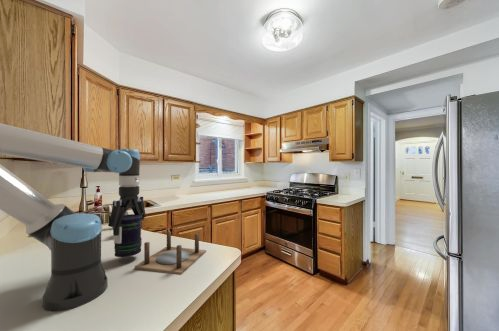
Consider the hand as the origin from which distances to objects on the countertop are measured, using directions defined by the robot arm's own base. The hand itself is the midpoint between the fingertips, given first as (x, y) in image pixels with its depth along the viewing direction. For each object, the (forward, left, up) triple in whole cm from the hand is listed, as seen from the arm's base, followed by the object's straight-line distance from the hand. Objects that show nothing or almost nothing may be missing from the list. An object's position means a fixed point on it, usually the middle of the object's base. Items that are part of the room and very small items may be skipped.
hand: (128, 238), depth 87 cm
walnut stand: (+3, -19, -9) cm, 21 cm away
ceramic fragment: (+38, +44, -9) cm, 59 cm away
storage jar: (0, 0, -6) cm, 6 cm away
